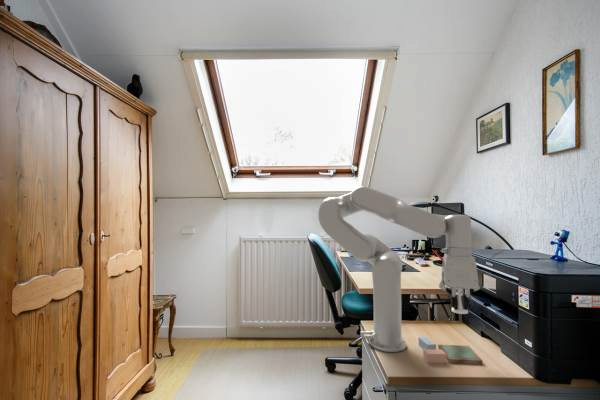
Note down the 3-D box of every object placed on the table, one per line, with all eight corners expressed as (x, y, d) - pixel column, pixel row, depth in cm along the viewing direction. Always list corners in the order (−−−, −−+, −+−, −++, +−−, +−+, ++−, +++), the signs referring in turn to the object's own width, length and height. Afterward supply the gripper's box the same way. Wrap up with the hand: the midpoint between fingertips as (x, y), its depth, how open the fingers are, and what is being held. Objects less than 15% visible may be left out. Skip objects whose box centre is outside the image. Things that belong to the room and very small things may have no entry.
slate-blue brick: (436, 353, 105) (436, 344, 105) (427, 353, 104) (427, 344, 104) (426, 345, 110) (426, 336, 111) (418, 345, 110) (418, 337, 110)
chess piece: (470, 314, 100) (469, 283, 100) (453, 313, 100) (453, 282, 101) (465, 309, 104) (464, 279, 104) (449, 308, 105) (449, 278, 105)
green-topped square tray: (448, 362, 98) (448, 358, 98) (438, 348, 108) (438, 344, 108) (482, 364, 97) (482, 360, 97) (468, 349, 107) (468, 345, 107)
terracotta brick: (426, 363, 98) (426, 353, 98) (423, 358, 101) (423, 349, 101) (446, 363, 98) (446, 354, 98) (441, 358, 101) (441, 349, 101)
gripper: (436, 253, 100) (437, 311, 100) (490, 254, 98) (491, 312, 98) (429, 250, 107) (430, 304, 107) (479, 250, 106) (480, 305, 105)
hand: (459, 307), depth 102 cm, fingers closed on chess piece
